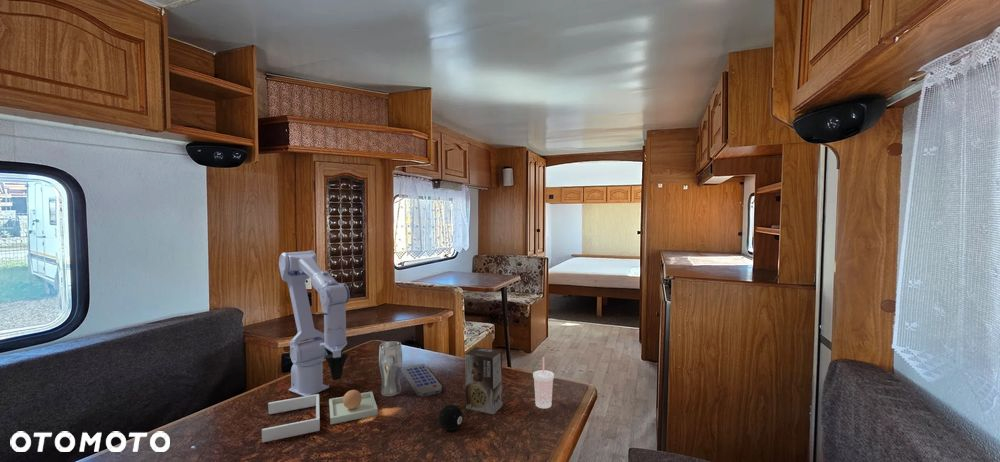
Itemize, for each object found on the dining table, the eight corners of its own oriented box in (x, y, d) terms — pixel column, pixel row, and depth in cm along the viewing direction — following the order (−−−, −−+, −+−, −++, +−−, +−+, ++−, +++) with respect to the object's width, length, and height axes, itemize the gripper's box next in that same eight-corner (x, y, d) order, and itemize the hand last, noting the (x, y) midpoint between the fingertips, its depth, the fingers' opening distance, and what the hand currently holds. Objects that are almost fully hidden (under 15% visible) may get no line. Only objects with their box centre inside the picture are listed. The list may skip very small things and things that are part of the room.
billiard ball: (452, 437, 99) (452, 413, 99) (434, 430, 103) (434, 407, 102) (467, 426, 104) (467, 404, 104) (449, 420, 108) (449, 398, 107)
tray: (330, 424, 106) (330, 418, 106) (329, 404, 116) (329, 399, 116) (377, 414, 111) (377, 408, 111) (372, 396, 121) (372, 391, 121)
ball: (339, 409, 113) (338, 391, 113) (353, 402, 117) (353, 385, 117) (351, 413, 110) (350, 395, 110) (365, 406, 114) (365, 389, 114)
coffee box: (503, 405, 116) (503, 350, 115) (493, 415, 110) (493, 357, 109) (475, 399, 120) (475, 345, 119) (464, 408, 114) (464, 352, 113)
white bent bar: (262, 442, 97) (261, 430, 97) (268, 413, 112) (268, 402, 112) (319, 430, 103) (319, 419, 103) (319, 403, 117) (319, 393, 117)
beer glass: (396, 398, 120) (395, 349, 120) (375, 396, 122) (374, 347, 121) (406, 388, 127) (405, 341, 127) (386, 386, 129) (385, 340, 128)
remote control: (424, 368, 145) (424, 362, 145) (443, 393, 125) (443, 386, 124) (402, 372, 141) (402, 366, 141) (418, 398, 121) (418, 391, 121)
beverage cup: (558, 404, 116) (558, 356, 116) (545, 412, 112) (545, 362, 111) (541, 397, 121) (541, 351, 120) (528, 404, 116) (528, 357, 115)
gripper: (319, 322, 119) (320, 367, 119) (320, 336, 106) (321, 386, 106) (344, 319, 122) (345, 363, 122) (348, 332, 109) (349, 381, 109)
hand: (336, 374), depth 114 cm, fingers open, 7 cm apart
